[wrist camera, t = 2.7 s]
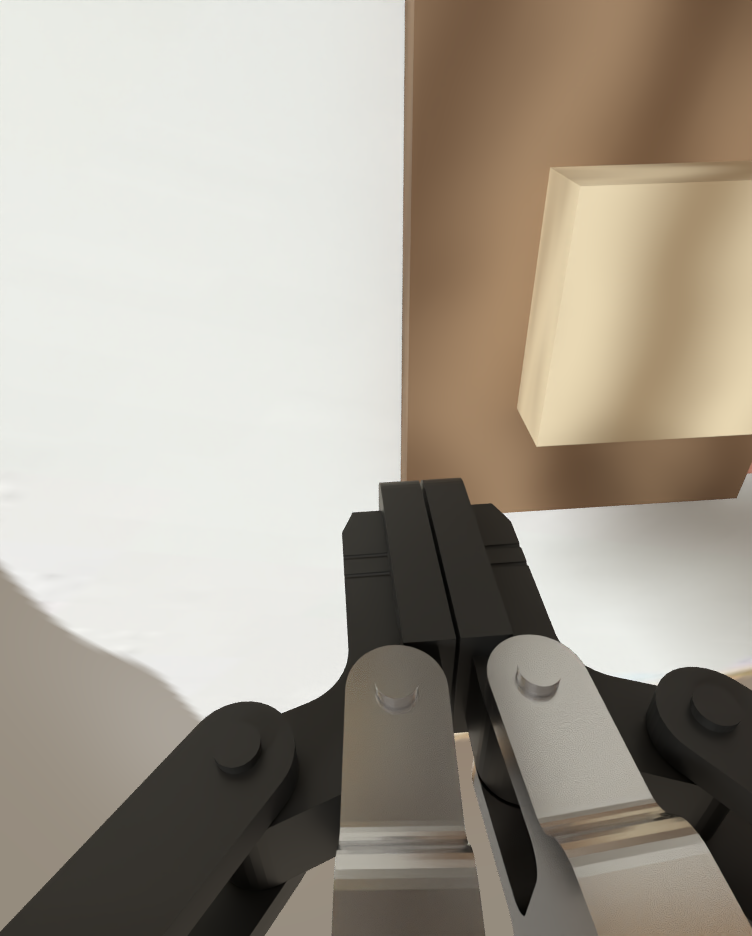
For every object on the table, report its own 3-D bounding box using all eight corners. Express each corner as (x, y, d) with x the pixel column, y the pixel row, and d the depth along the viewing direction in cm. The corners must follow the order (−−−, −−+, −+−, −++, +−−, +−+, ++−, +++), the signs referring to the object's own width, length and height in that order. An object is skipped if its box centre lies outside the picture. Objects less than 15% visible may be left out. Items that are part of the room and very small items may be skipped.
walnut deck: (915, -60, 17) (979, -69, 15) (711, 470, 27) (736, 498, 26) (405, -52, 16) (415, -61, 14) (400, 489, 27) (406, 519, 25)
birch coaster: (817, 158, 18) (880, 175, 16) (729, 396, 23) (769, 433, 21) (550, 167, 18) (579, 186, 15) (516, 408, 22) (536, 446, 20)
